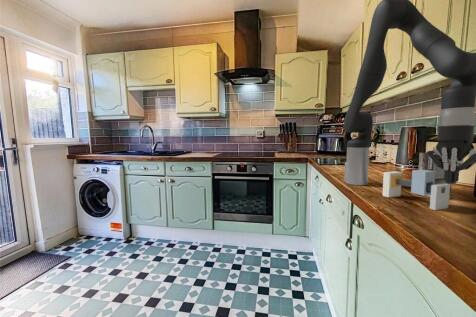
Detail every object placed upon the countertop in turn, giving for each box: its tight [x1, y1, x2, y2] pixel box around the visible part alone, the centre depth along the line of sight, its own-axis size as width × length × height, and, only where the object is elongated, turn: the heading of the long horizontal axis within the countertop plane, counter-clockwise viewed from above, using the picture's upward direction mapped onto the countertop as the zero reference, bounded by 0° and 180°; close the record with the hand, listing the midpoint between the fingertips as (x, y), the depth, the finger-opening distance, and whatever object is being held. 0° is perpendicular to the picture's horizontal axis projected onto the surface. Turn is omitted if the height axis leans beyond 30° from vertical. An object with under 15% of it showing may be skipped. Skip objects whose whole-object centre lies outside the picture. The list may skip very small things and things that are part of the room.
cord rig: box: [382, 170, 450, 211], centre depth 77 cm, size 18×6×9 cm, turn 18°
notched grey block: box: [410, 169, 435, 197], centre depth 74 cm, size 4×5×8 cm
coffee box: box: [418, 151, 453, 200], centre depth 84 cm, size 9×6×16 cm
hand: (450, 183), depth 67 cm, fingers closed
